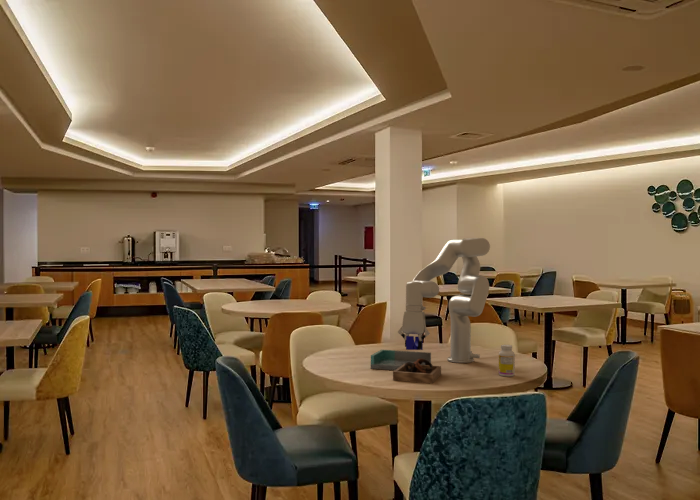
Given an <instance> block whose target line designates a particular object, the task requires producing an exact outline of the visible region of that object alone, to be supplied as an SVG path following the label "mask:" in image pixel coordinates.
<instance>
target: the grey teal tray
mask: <svg viewBox="0 0 700 500" xmlns="http://www.w3.org/2000/svg"><path fill="white" fill-rule="evenodd" d="M418 359H425V360H428V361H429V362H430V363H431V364H432V352H429V351H415V350H395V349H393V350H392V349H380V350H378V351H376V352H374V353H372V354H371V355H370V369H371V370H383V371H384V370H385V371H395V370H396V369H397V368H399V367H400V366H402V365H403V364H405V363H407V362H411V363H414V362H415V361H417V360H418ZM420 365H425V363H424V362H423V363H422V364H420Z"/></svg>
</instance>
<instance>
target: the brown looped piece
mask: <svg viewBox="0 0 700 500" xmlns="http://www.w3.org/2000/svg"><path fill="white" fill-rule="evenodd" d="M423 362H424V363H425V365H429V366H430V368H426V369H425V370H423V367H422V366H421V365H420V364H422V363H423ZM408 366H410V367H411V368H410V369H409V368H408ZM433 366H434V365H433V363H432V362H431V363H430V362H429V361H428V360H425V359H418V360H417V361H415V362H414V363H411V362H407V363H405V365H404V367H405V370H406V371H407V372H413V373H421V372H422V373H427V374H430V373H431V372H432V371H433V370H432V368H433Z"/></svg>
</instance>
